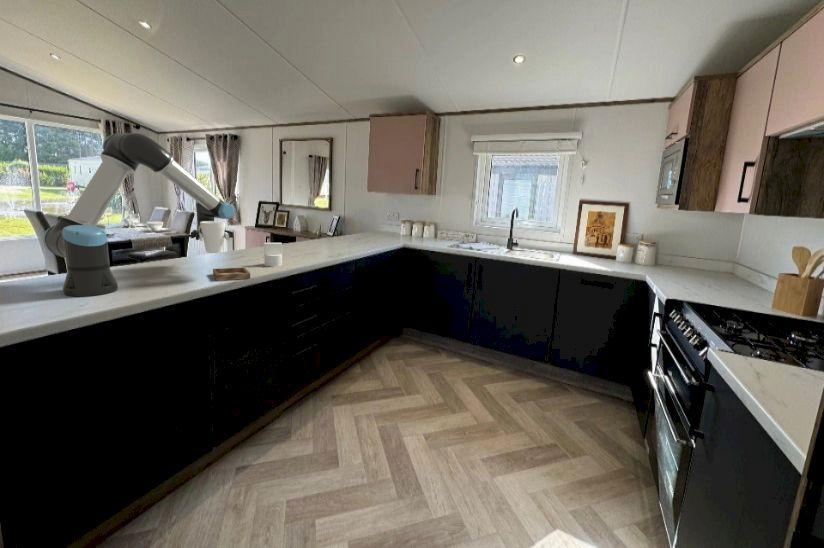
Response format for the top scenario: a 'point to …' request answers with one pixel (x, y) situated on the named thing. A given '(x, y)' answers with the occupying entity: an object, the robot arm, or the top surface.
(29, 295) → the top surface
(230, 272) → the walnut frame
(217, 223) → the foam cup
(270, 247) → the glass of milk
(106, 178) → the robot arm
